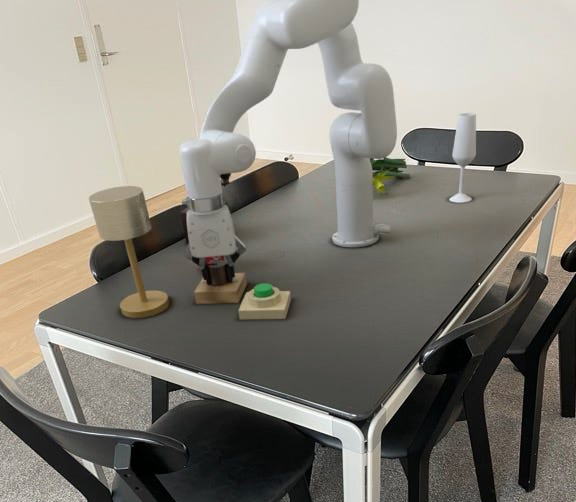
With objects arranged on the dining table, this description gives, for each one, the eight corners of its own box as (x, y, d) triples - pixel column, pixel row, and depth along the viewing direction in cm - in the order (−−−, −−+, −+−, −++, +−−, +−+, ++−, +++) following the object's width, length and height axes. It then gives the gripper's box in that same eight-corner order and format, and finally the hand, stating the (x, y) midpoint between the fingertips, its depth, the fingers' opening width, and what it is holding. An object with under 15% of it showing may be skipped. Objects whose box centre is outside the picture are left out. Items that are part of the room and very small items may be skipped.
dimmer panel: (247, 284, 135) (245, 272, 134) (238, 303, 127) (236, 290, 125) (207, 285, 137) (205, 273, 135) (196, 303, 129) (193, 291, 127)
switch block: (291, 299, 126) (289, 283, 124) (285, 318, 119) (283, 301, 117) (247, 300, 128) (245, 284, 125) (239, 319, 120) (237, 302, 118)
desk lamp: (175, 295, 134) (150, 184, 119) (160, 317, 125) (131, 200, 110) (131, 296, 135) (101, 187, 121) (114, 318, 127) (79, 203, 112)
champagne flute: (474, 196, 174) (482, 112, 160) (467, 203, 169) (475, 116, 156) (453, 195, 177) (459, 112, 163) (445, 201, 172) (451, 116, 159)
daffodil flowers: (429, 182, 194) (382, 180, 167) (394, 202, 203) (343, 204, 177) (412, 136, 193) (361, 127, 167) (377, 158, 203) (324, 153, 176)
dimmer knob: (230, 277, 132) (227, 258, 129) (228, 285, 128) (225, 265, 126) (212, 278, 132) (208, 259, 130) (209, 286, 129) (206, 267, 126)
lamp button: (274, 290, 122) (273, 283, 122) (271, 298, 119) (270, 291, 118) (256, 290, 123) (255, 283, 122) (253, 298, 120) (252, 291, 119)
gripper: (164, 212, 117) (182, 291, 128) (244, 204, 117) (255, 284, 127) (170, 201, 123) (186, 278, 134) (246, 193, 123) (256, 271, 133)
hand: (219, 280), depth 130 cm, fingers closed on dimmer knob, 4 cm apart
